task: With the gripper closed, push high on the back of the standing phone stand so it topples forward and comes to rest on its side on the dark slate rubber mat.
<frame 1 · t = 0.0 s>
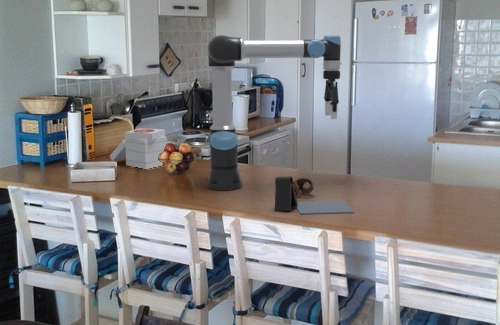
hand: (330, 117, 284), 28 cm above the countertop, fingers open, 13 cm apart
pottery mug: (299, 195, 257), on the countertop
pizza boxes: (139, 164, 322), on the countertop
phone stand: (286, 208, 236), on the countertop, touching slate mat
slate mat: (323, 208, 237), on the countertop
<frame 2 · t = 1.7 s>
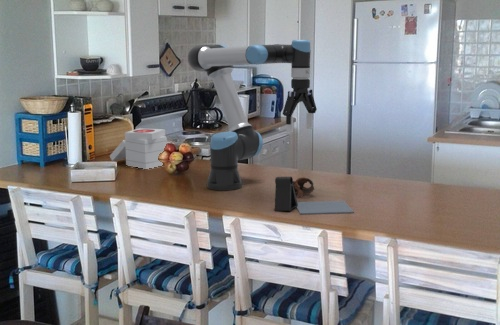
hand: (299, 130, 257), 26 cm above the countertop, fingers open, 13 cm apart
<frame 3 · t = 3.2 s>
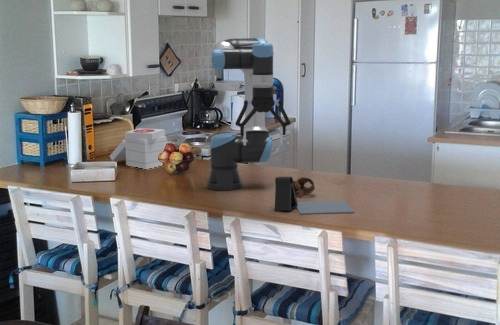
hand: (263, 144, 230), 25 cm above the countertop, fingers open, 13 cm apart
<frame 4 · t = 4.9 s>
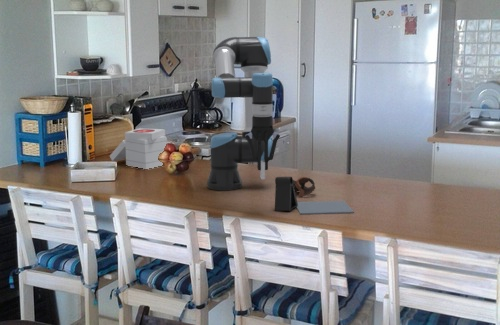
hand: (262, 178, 232), 12 cm above the countertop, fingers closed
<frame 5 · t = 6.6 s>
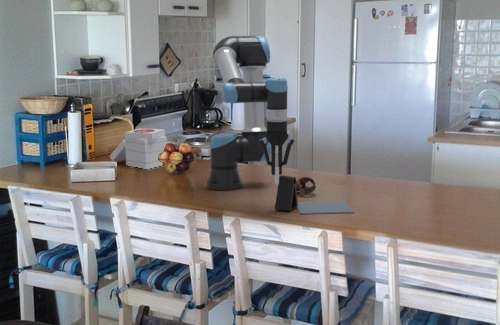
hand: (276, 183, 233), 10 cm above the countertop, fingers closed
phone stand: (286, 207, 236), on the countertop, touching gripper, slate mat
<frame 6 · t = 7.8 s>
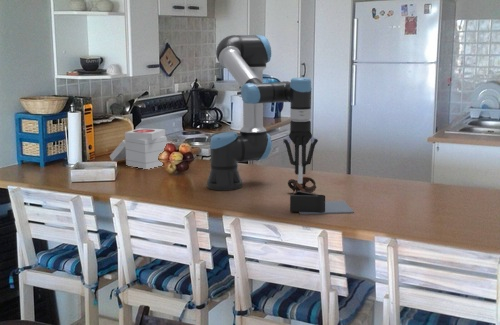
hand: (300, 182, 234), 10 cm above the countertop, fingers closed
phone stand: (293, 200, 234), point 3 cm above the countertop, touching slate mat
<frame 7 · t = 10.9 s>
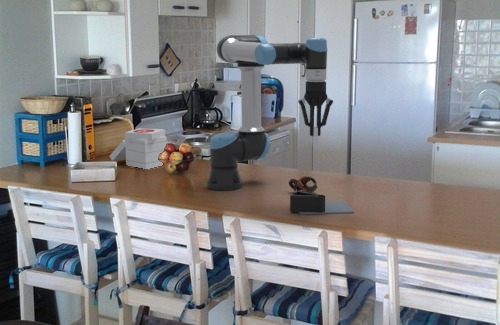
hand: (314, 144, 232), 24 cm above the countertop, fingers closed
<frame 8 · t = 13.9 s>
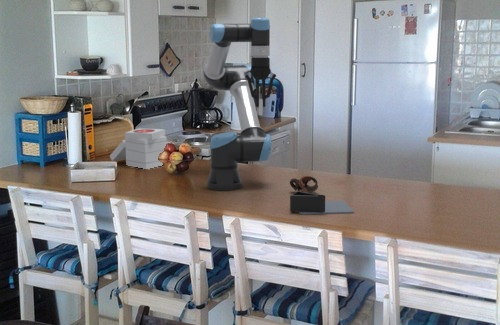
hand: (260, 114, 257), 32 cm above the countertop, fingers closed
at the end: phone stand tilted 90°; phone stand inside the target area (4.2 cm from its centre), point 3.5 cm above the countertop; phone stand touching slate mat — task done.
